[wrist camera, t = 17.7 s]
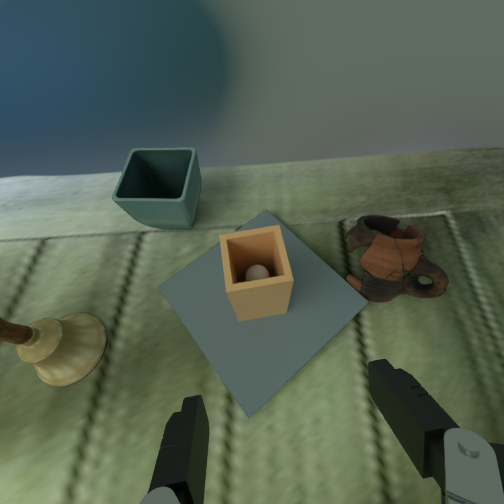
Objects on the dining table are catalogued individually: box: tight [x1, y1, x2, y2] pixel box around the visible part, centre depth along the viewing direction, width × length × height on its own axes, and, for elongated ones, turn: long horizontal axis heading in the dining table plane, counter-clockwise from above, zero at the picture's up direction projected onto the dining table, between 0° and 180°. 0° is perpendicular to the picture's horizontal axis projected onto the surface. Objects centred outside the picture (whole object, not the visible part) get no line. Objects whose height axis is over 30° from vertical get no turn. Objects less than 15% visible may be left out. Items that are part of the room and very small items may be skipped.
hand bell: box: [0, 313, 107, 386], centre depth 24 cm, size 8×8×16 cm
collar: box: [219, 225, 294, 322], centre depth 27 cm, size 6×6×10 cm
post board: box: [158, 209, 368, 418], centre depth 29 cm, size 18×18×8 cm
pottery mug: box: [344, 215, 449, 302], centre depth 31 cm, size 12×10×8 cm
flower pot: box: [112, 147, 201, 229], centre depth 36 cm, size 9×9×9 cm
